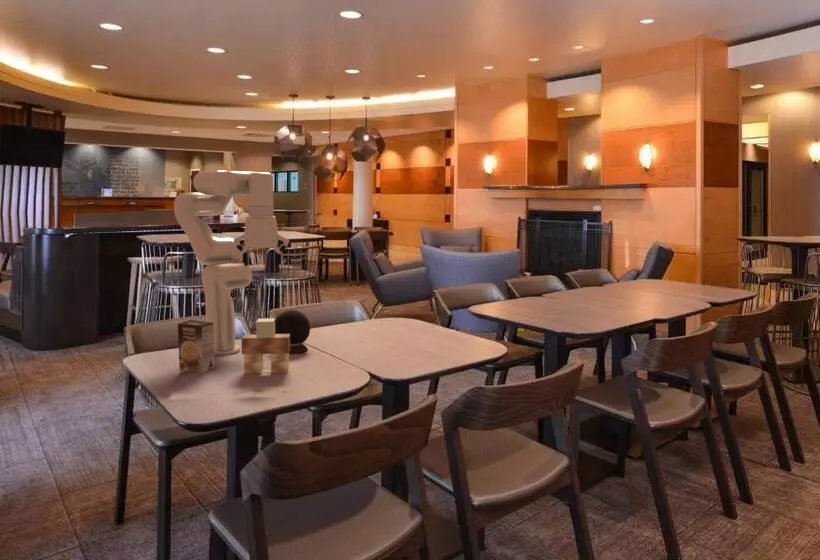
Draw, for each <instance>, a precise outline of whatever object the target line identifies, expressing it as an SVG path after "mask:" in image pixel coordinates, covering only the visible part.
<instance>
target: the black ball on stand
mask: <svg viewBox="0 0 820 560" xmlns="http://www.w3.org/2000/svg"><path fill="white" fill-rule="evenodd" d="M310 333H311V323H310V320H309V319H308V317H307V316H306V315H305V314H304V313H303V312H301V311H299V310H297V309H289V310H285V311H282V312H281V313H279V314H278V315H277V316H276V318H275V334H290V352H289V355H303V353H304V354H306V353H308V352H309V349H308V347H307V345H305V344H304V343H305V342H306V341H307V340H308V338H309V336H310ZM307 351H308V352H307ZM305 352H306V353H305Z"/></svg>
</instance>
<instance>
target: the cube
mask: <svg viewBox="0 0 820 560" xmlns="http://www.w3.org/2000/svg"><path fill="white" fill-rule="evenodd" d="M275 319H276V318H271V317H270V318H258V319H257V320H256V322H255V325H256V326H255V328H256V329H255V331H256V332H255V333H256V334H257V338H274V336H275Z"/></svg>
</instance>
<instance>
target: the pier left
mask: <svg viewBox="0 0 820 560" xmlns="http://www.w3.org/2000/svg"><path fill="white" fill-rule="evenodd" d="M243 367H244V370H243V373H244V374H262V370H264V354H243Z"/></svg>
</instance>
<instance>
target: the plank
mask: <svg viewBox="0 0 820 560" xmlns="http://www.w3.org/2000/svg"><path fill="white" fill-rule="evenodd" d="M289 352H290V334H275V336H274V338H257V334H253V333H252V334H243V335H242V337H241V355H244V354H263V355H271V354H287V353H289Z"/></svg>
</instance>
